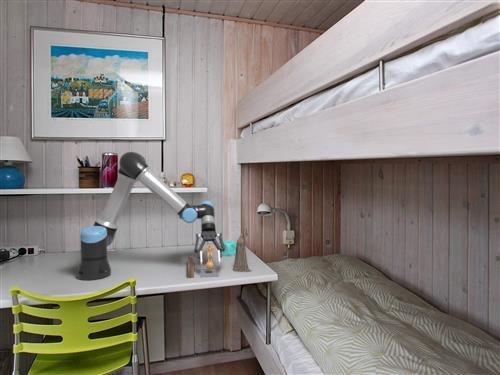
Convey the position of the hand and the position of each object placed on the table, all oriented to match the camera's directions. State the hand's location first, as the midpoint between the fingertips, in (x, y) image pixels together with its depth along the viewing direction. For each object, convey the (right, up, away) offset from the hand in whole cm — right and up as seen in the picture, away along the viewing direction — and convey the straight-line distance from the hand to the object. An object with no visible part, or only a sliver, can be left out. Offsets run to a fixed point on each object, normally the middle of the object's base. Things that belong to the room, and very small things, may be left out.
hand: (210, 263), depth 162 cm
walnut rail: (-12, -6, +10) cm, 16 cm away
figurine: (-1, -4, +3) cm, 5 cm away
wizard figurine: (+15, -6, +10) cm, 19 cm away
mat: (-1, -6, +3) cm, 7 cm away
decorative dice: (+6, -5, +41) cm, 42 cm away
